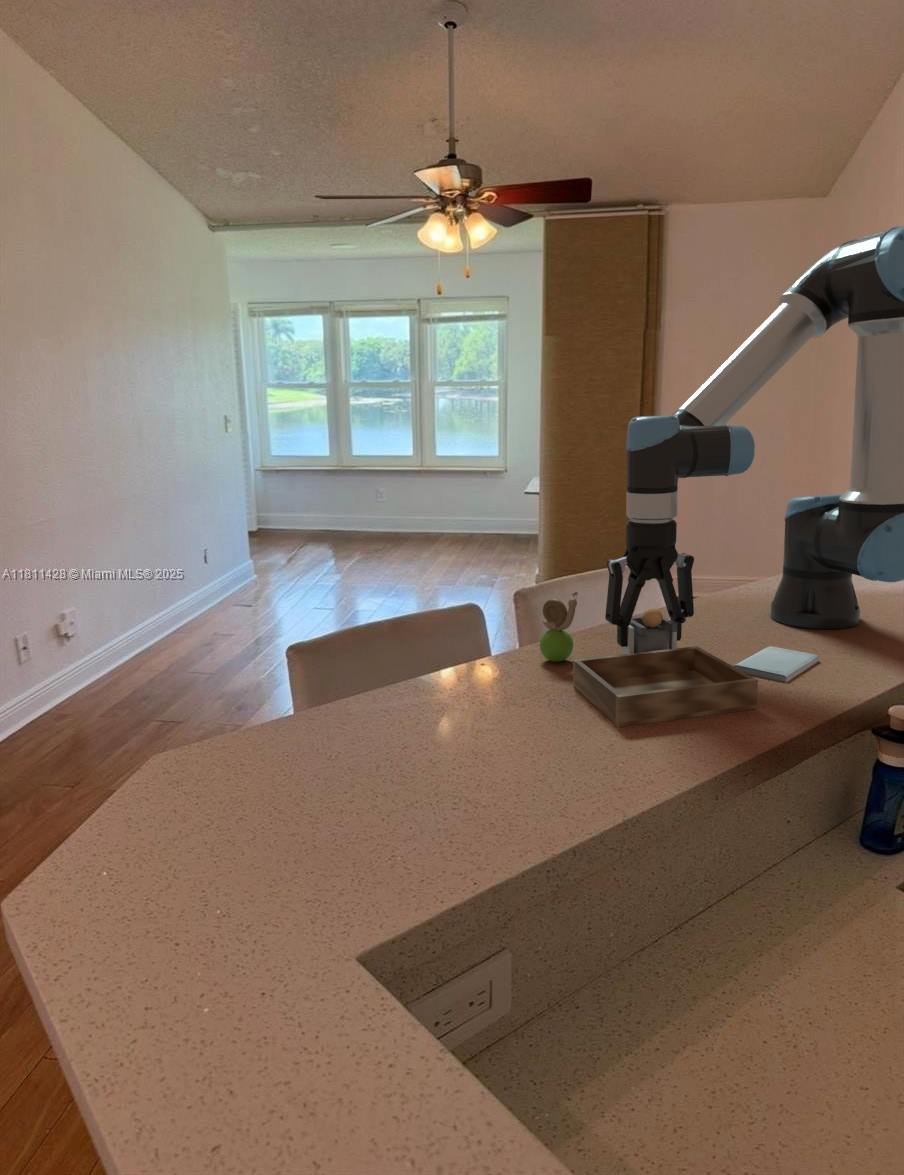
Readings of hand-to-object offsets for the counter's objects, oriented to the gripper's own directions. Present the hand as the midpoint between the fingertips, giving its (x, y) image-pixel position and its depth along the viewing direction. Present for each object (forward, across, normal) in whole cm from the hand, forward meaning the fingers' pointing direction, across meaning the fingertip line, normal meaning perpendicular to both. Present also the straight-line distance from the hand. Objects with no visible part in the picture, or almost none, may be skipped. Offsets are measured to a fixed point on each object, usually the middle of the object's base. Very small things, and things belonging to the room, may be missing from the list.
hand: (648, 662), depth 126 cm
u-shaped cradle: (0, 0, 0) cm, 0 cm away
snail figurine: (0, +13, -6) cm, 14 cm away
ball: (-7, -1, 0) cm, 7 cm away
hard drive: (+1, -18, +7) cm, 19 cm away
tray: (0, +5, +14) cm, 14 cm away
